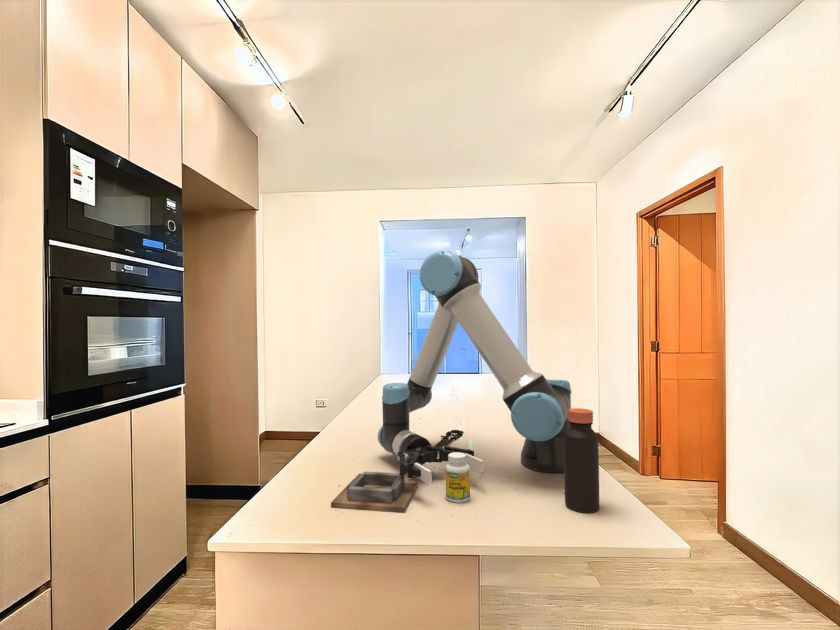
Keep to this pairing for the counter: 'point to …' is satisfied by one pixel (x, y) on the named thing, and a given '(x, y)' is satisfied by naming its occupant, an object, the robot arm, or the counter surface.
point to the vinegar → (581, 462)
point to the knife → (445, 438)
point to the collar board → (376, 492)
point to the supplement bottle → (457, 478)
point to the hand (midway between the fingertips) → (457, 472)
